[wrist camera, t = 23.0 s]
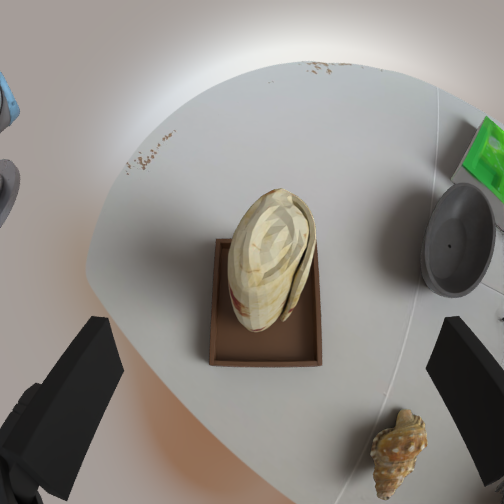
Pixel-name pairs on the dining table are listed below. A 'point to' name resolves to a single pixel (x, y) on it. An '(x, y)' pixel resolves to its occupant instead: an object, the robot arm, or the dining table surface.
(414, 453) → the seashell
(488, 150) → the tray
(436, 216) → the bowl
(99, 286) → the dining table surface
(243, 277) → the food model
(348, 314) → the dining table surface
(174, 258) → the dining table surface
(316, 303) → the serving tray
